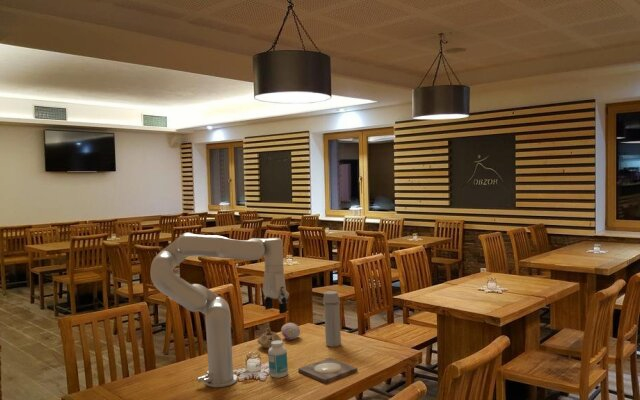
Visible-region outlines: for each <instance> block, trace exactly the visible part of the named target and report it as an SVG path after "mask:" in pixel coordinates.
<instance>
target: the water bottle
mask: <svg viewBox="0 0 640 400" xmlns="http://www.w3.org/2000/svg"><path fill="white" fill-rule="evenodd" d="M340 303H341V301H340V299H339V292H338V291H335V290H327V291H324V292H323V302H322V304H323V307H324V310H323V311H324V329H325V330H324V331H325V345H326V346H327V347H331V348H336V347H339V346H340V345H341V343H342V337H341V335H342V334H341V317H340V315H341V314H340V313H341V312H340V310H341V309H340Z"/></svg>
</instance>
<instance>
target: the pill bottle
mask: <svg viewBox="0 0 640 400" xmlns="http://www.w3.org/2000/svg"><path fill="white" fill-rule="evenodd" d="M283 345H284V342H283V340H281V341H279V340H277V341H273V342H271V346H272V347H271V348H270V349H267V350H268V351H267V352H268V369H269V376H270V377H271V378H277V379H278V378H279V379H280V378H283V377H286V376H287V375H288V374H289V373H288V372H289V370H288V369H289V366H288V351H287V348H286V347H285V346H283Z"/></svg>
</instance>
